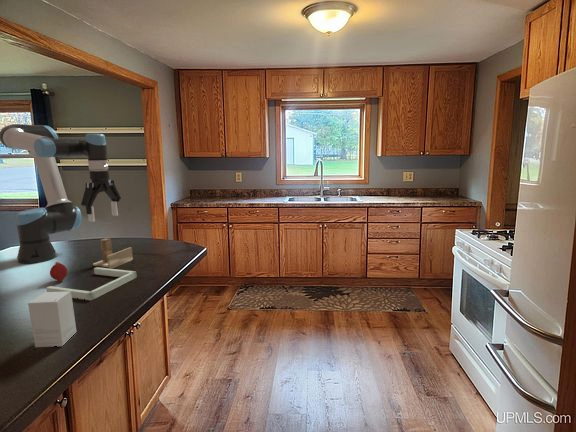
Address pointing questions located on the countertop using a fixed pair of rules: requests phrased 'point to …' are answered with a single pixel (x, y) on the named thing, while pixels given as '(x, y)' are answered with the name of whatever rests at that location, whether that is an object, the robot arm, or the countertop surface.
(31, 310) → the supplement box
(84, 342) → the countertop surface
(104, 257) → the wooden scraper
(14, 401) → the countertop surface
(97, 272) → the sage frame
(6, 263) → the countertop surface
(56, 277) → the red round fruit
